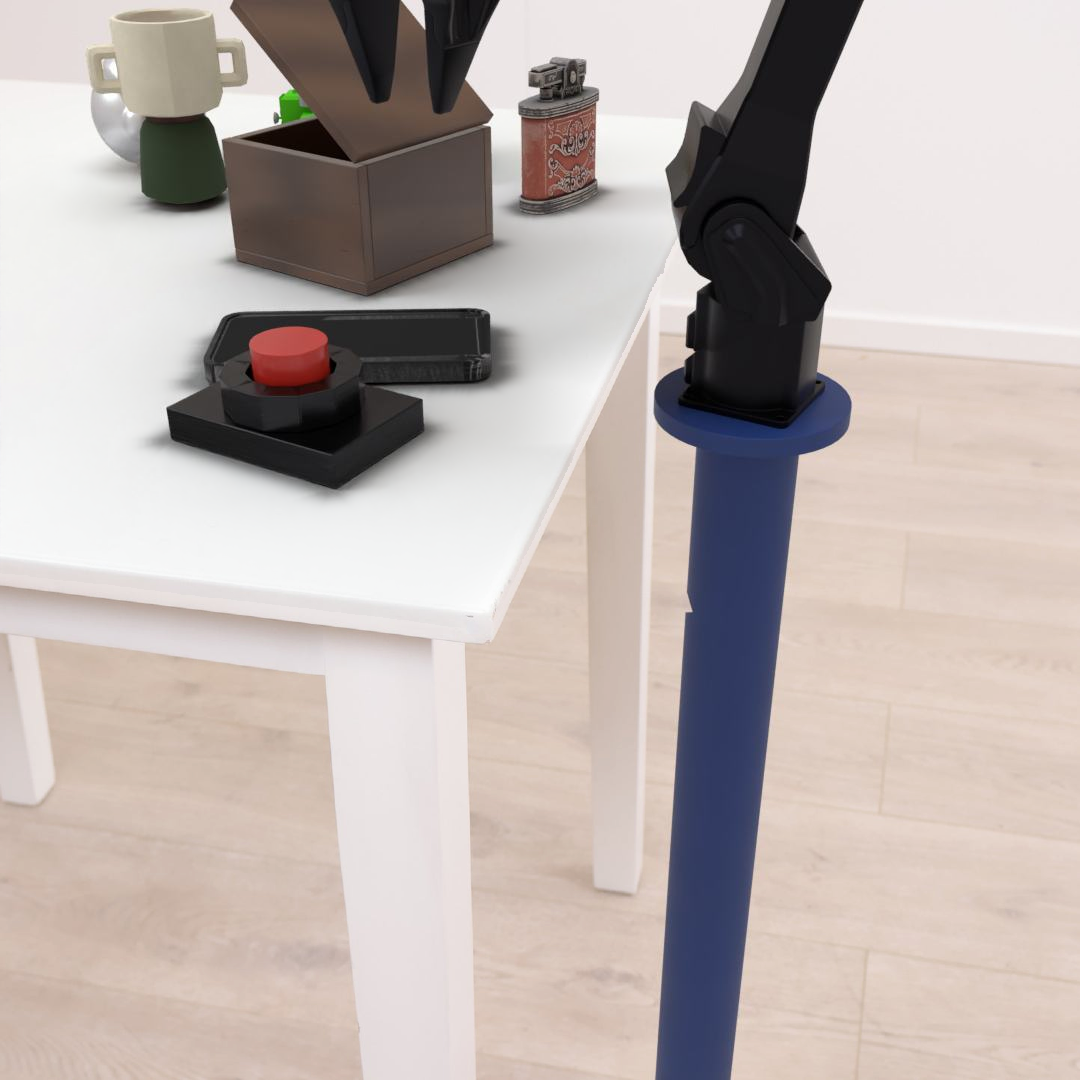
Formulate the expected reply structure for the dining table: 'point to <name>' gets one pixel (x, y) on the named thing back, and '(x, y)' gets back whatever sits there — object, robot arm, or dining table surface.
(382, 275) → the chest
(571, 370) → the dining table surface
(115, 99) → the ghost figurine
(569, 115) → the lighter
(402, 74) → the lid
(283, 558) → the dining table surface
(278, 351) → the button
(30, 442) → the dining table surface
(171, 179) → the cream and green trophy
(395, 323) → the phone
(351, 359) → the button base
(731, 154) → the robot arm
